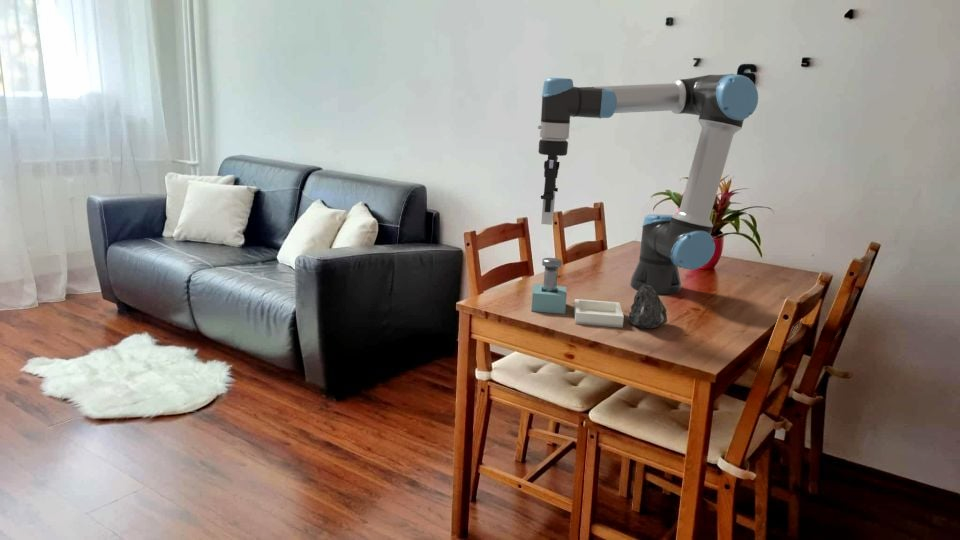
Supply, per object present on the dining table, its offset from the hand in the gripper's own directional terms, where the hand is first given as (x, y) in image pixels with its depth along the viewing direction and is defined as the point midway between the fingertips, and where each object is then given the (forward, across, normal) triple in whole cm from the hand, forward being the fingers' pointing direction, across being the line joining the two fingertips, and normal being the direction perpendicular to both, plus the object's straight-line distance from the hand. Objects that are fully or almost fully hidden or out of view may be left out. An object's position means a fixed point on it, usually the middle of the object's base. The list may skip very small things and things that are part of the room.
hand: (547, 219), depth 181 cm
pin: (+24, +2, +2) cm, 24 cm away
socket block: (+24, +2, +2) cm, 24 cm away
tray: (+24, +8, +15) cm, 29 cm away
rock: (+24, +10, +28) cm, 39 cm away
